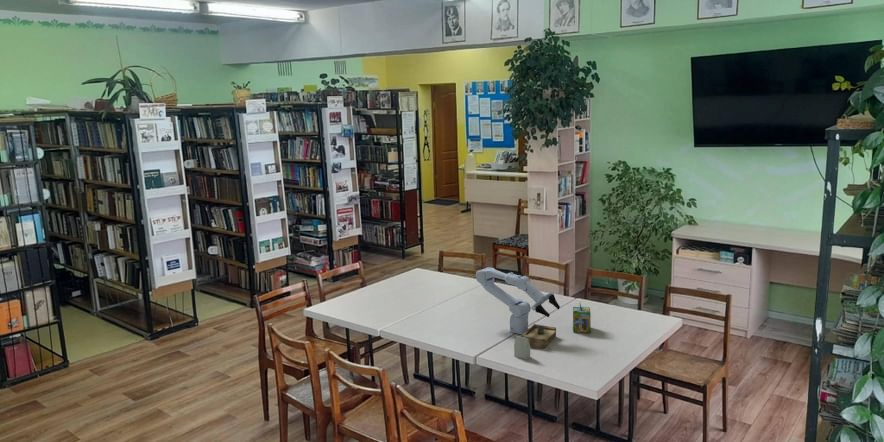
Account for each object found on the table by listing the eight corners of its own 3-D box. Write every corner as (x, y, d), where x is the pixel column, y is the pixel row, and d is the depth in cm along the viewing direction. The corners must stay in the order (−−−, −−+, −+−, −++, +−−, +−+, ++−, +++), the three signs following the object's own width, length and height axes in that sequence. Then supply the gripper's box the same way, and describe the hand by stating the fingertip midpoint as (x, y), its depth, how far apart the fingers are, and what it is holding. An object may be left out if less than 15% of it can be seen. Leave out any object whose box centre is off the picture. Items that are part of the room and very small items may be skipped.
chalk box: (590, 333, 321) (591, 306, 318) (572, 332, 323) (573, 306, 320) (590, 326, 330) (590, 300, 327) (572, 326, 332) (572, 300, 329)
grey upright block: (526, 359, 292) (526, 340, 290) (514, 356, 296) (514, 336, 294) (530, 357, 294) (530, 337, 292) (518, 353, 299) (518, 334, 297)
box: (521, 345, 309) (521, 335, 308) (534, 332, 324) (534, 324, 323) (543, 349, 303) (543, 339, 302) (555, 336, 318) (556, 327, 317)
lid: (525, 337, 309) (525, 329, 308) (536, 327, 322) (535, 320, 321) (546, 341, 303) (546, 333, 303) (556, 331, 316) (556, 323, 315)
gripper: (526, 297, 310) (545, 315, 304) (546, 282, 317) (565, 300, 311) (524, 304, 316) (543, 322, 310) (543, 290, 322) (562, 307, 316)
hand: (554, 312), depth 311 cm, fingers open, 7 cm apart
